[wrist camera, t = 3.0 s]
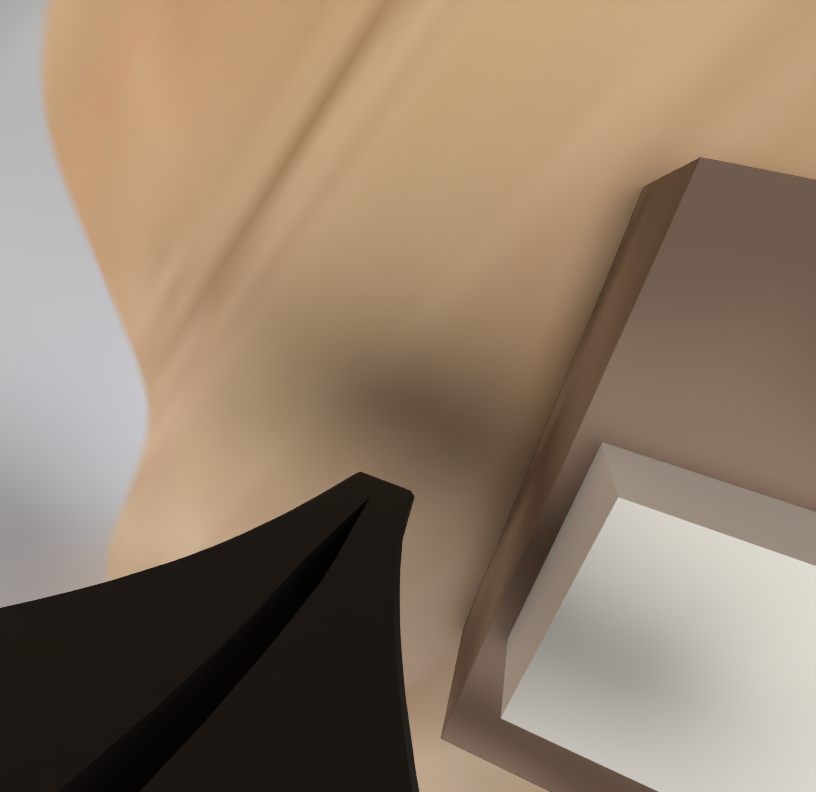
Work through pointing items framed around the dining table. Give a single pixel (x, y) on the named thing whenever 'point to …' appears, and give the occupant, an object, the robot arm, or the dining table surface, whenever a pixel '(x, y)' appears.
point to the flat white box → (673, 632)
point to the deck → (661, 408)
